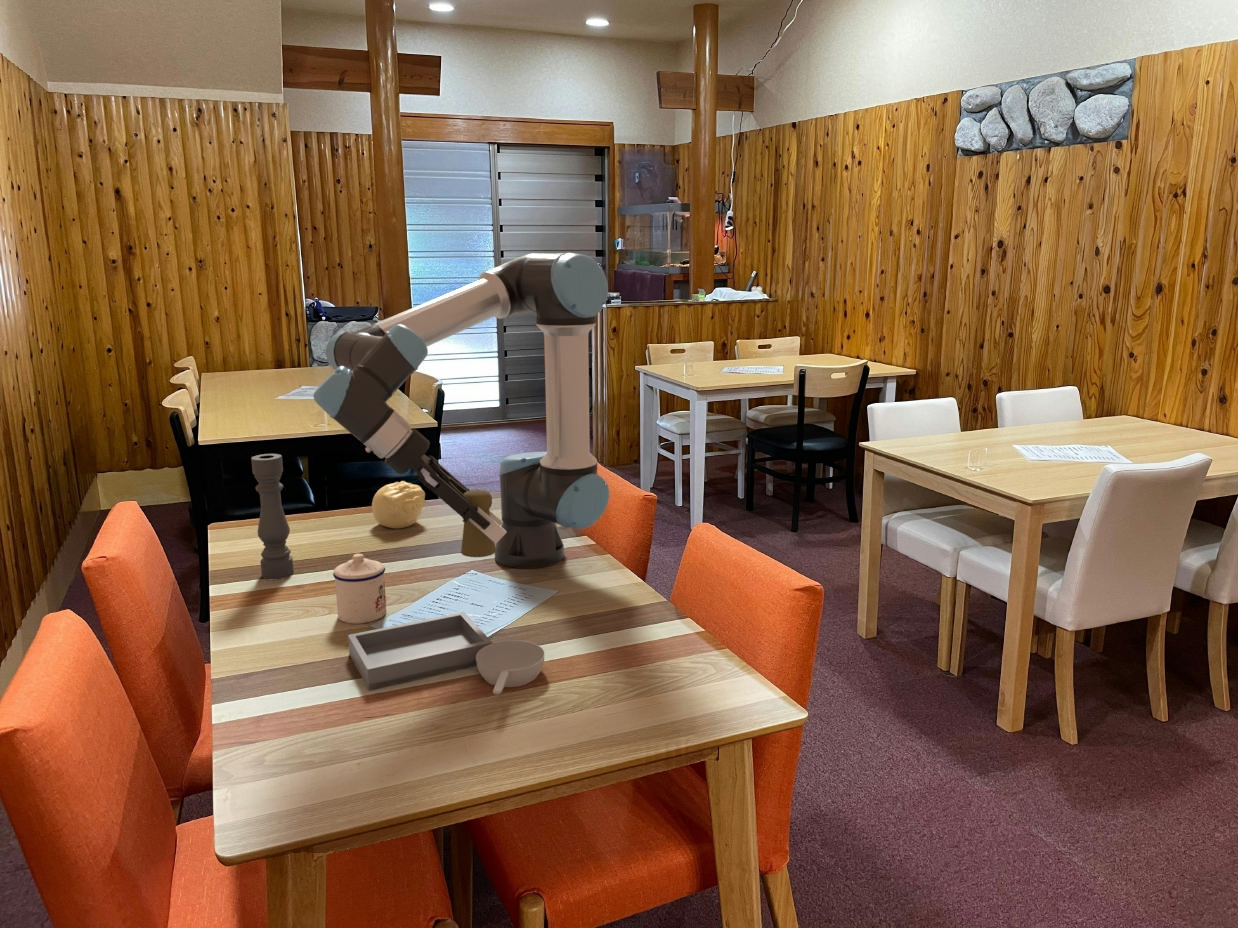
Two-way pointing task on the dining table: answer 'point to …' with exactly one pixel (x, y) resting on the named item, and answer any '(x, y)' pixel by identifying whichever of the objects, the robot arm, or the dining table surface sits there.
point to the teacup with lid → (360, 590)
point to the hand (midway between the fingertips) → (499, 532)
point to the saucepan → (510, 663)
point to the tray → (416, 649)
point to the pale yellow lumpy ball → (398, 504)
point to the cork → (474, 538)
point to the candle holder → (272, 517)
